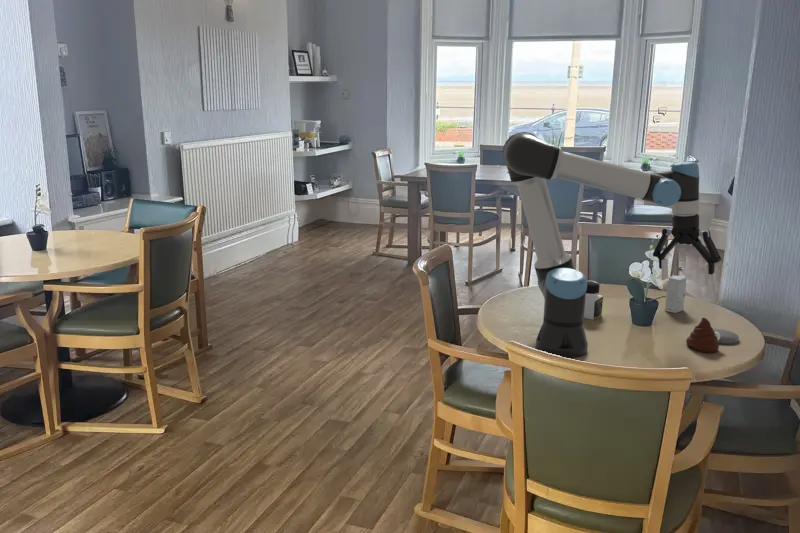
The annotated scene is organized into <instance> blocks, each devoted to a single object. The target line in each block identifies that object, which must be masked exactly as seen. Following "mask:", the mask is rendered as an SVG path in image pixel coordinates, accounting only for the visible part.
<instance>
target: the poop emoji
mask: <svg viewBox="0 0 800 533" xmlns="http://www.w3.org/2000/svg"><path fill="white" fill-rule="evenodd" d="M713 329H714V328H713V327H712V325H711V322H710V321H709V319H707V318H706V317H701V320H700V322H699V323H698V325H696V326H694V329H693V331H691V332H690V335H689V336H688V337H687V338H686V341H685V342H686V345H687V346H688V347H691V348H693V349H694V350H695V351H697V352H699V353H702V354H703V353H704V354H712V353H716V352H717V351H718V350H719V349H720V348H719V347H720V344H718V342H717V341H718V340H719V339H720V334H719V333H718V332H714V331H713Z"/></svg>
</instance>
